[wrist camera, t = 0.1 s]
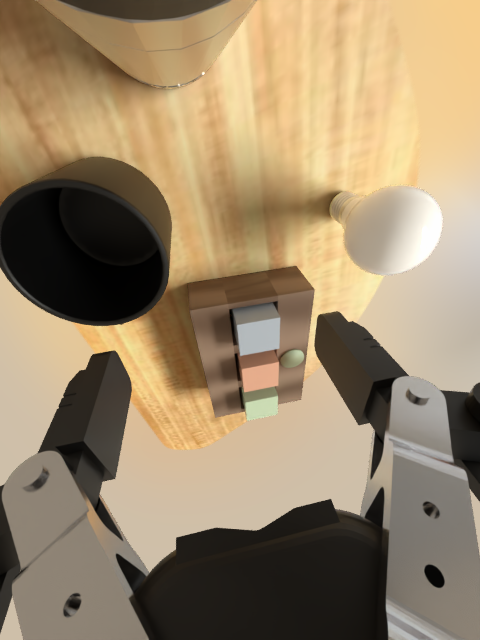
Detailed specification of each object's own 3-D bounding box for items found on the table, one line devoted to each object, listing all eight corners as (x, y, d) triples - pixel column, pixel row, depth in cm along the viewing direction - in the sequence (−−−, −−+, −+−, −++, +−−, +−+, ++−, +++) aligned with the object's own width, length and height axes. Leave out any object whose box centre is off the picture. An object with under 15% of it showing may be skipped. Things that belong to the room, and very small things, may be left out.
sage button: (238, 373, 34) (245, 402, 31) (268, 367, 35) (278, 396, 31) (240, 391, 37) (247, 420, 33) (268, 386, 37) (277, 414, 34)
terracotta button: (234, 340, 31) (241, 369, 27) (267, 334, 31) (278, 362, 28) (237, 363, 33) (244, 392, 30) (267, 357, 34) (278, 385, 30)
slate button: (229, 297, 27) (237, 325, 23) (267, 291, 27) (280, 317, 24) (232, 327, 29) (240, 356, 26) (267, 321, 30) (279, 348, 26)
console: (187, 283, 28) (189, 312, 24) (296, 266, 29) (315, 291, 25) (211, 387, 39) (215, 419, 35) (289, 372, 40) (301, 401, 36)
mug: (81, 293, 26) (47, 357, 19) (32, 152, 19) (-52, 175, 12) (178, 289, 28) (177, 347, 21) (166, 159, 21) (160, 182, 14)
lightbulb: (307, 242, 27) (365, 299, 19) (308, 174, 23) (382, 209, 15) (365, 229, 28) (447, 280, 19) (376, 160, 24) (486, 186, 15)
